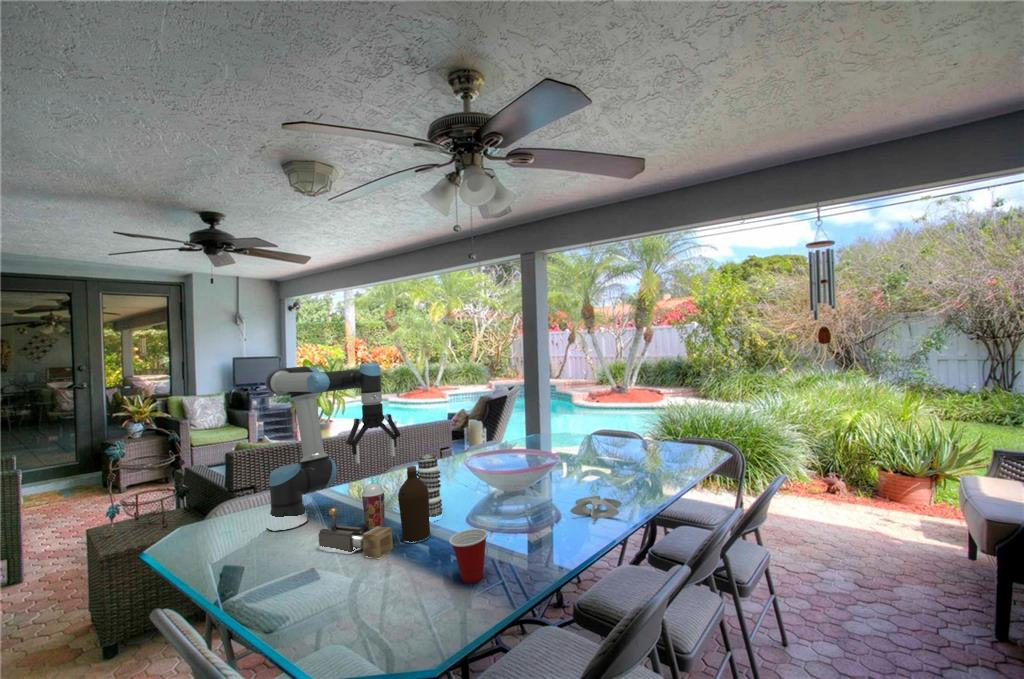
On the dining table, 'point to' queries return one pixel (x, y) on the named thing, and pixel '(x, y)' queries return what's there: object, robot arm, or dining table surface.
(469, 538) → the plastic cup
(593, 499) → the sculpture
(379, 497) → the smoothie
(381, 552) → the socket block
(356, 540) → the ball knob lever
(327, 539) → the outer sleeve
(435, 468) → the decorative candle
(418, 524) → the olive oil
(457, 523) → the dining table surface
